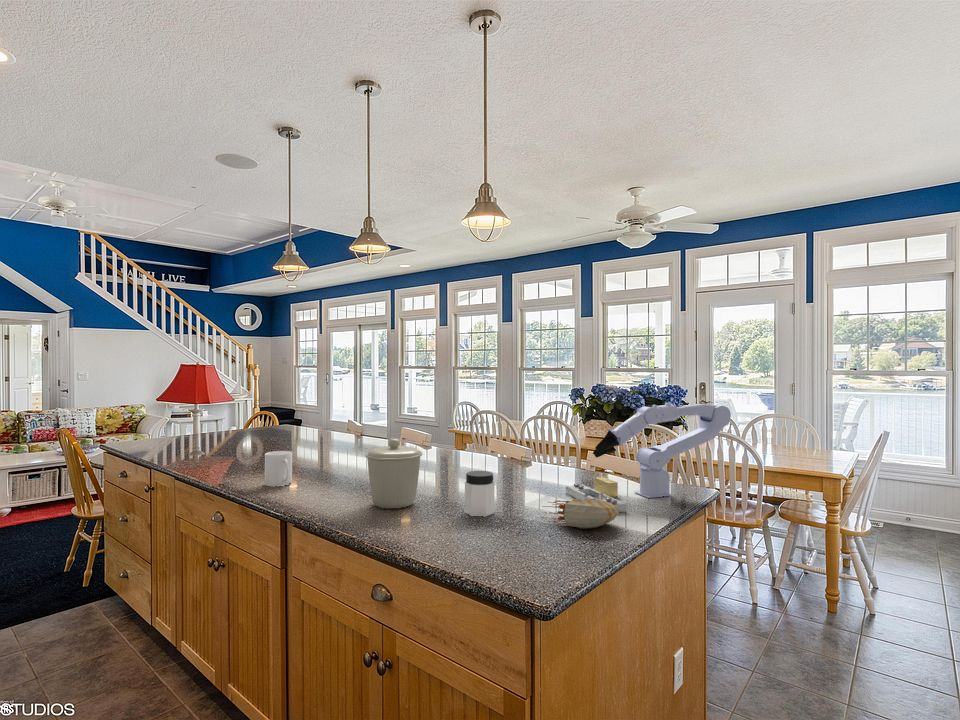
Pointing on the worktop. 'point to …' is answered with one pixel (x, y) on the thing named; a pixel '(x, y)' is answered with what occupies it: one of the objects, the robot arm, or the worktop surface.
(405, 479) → the canister
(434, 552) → the worktop surface
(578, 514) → the nautilus
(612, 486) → the tan wooden block
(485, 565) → the worktop surface
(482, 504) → the jar
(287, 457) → the mug
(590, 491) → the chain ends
